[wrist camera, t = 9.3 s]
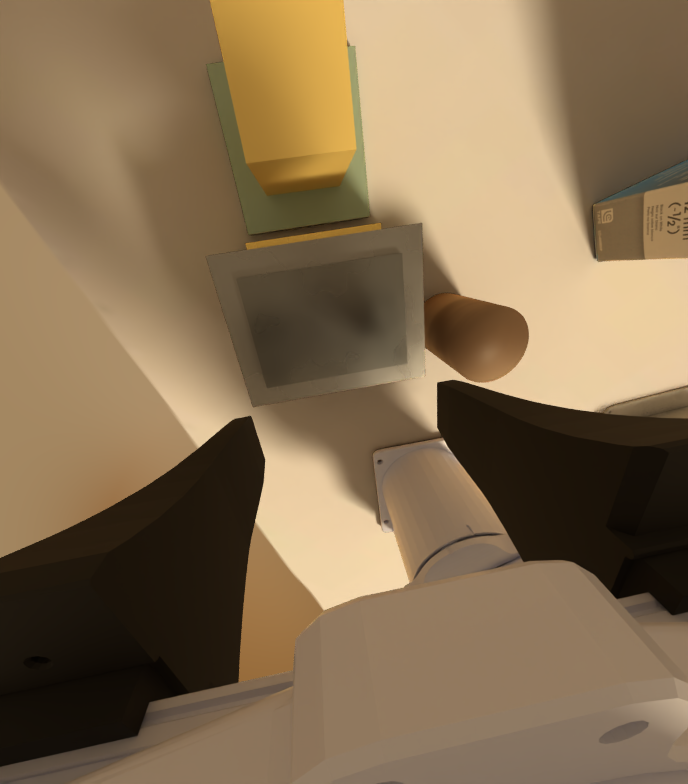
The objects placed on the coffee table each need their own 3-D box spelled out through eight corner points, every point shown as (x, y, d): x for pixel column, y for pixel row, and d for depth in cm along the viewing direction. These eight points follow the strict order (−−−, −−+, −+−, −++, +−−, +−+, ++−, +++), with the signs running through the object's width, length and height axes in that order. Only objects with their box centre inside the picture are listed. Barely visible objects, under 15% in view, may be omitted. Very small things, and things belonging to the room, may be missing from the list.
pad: (368, 217, 17) (370, 216, 17) (249, 235, 17) (248, 234, 16) (353, 51, 14) (355, 45, 14) (208, 69, 14) (205, 64, 13)
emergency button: (613, 559, 28) (649, 432, 22) (575, 521, 32) (596, 405, 26) (705, 535, 28) (768, 401, 22) (656, 501, 32) (698, 379, 26)
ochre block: (339, 186, 16) (356, 149, 11) (267, 195, 16) (246, 163, 10) (328, 88, 14) (342, -16, 9) (246, 97, 14) (209, -3, 9)
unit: (394, 345, 21) (427, 378, 15) (267, 367, 20) (251, 409, 14) (386, 228, 17) (424, 213, 12) (236, 251, 17) (200, 247, 11)
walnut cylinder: (468, 345, 21) (523, 375, 16) (415, 355, 21) (452, 388, 16) (471, 288, 20) (533, 300, 14) (413, 298, 19) (454, 313, 14)
